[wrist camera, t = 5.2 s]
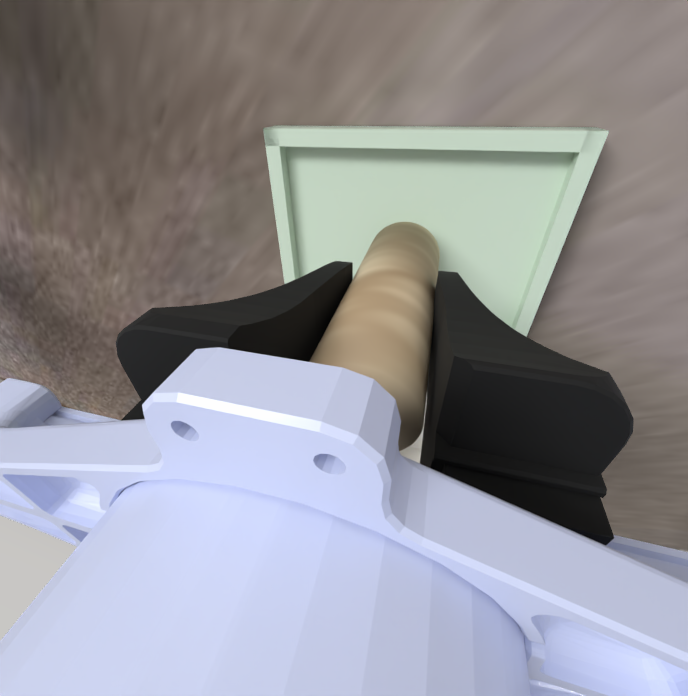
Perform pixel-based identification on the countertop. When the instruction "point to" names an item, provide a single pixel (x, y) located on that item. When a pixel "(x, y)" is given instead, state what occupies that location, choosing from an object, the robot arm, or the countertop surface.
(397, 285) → the dowel
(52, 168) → the countertop surface
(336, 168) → the tray
